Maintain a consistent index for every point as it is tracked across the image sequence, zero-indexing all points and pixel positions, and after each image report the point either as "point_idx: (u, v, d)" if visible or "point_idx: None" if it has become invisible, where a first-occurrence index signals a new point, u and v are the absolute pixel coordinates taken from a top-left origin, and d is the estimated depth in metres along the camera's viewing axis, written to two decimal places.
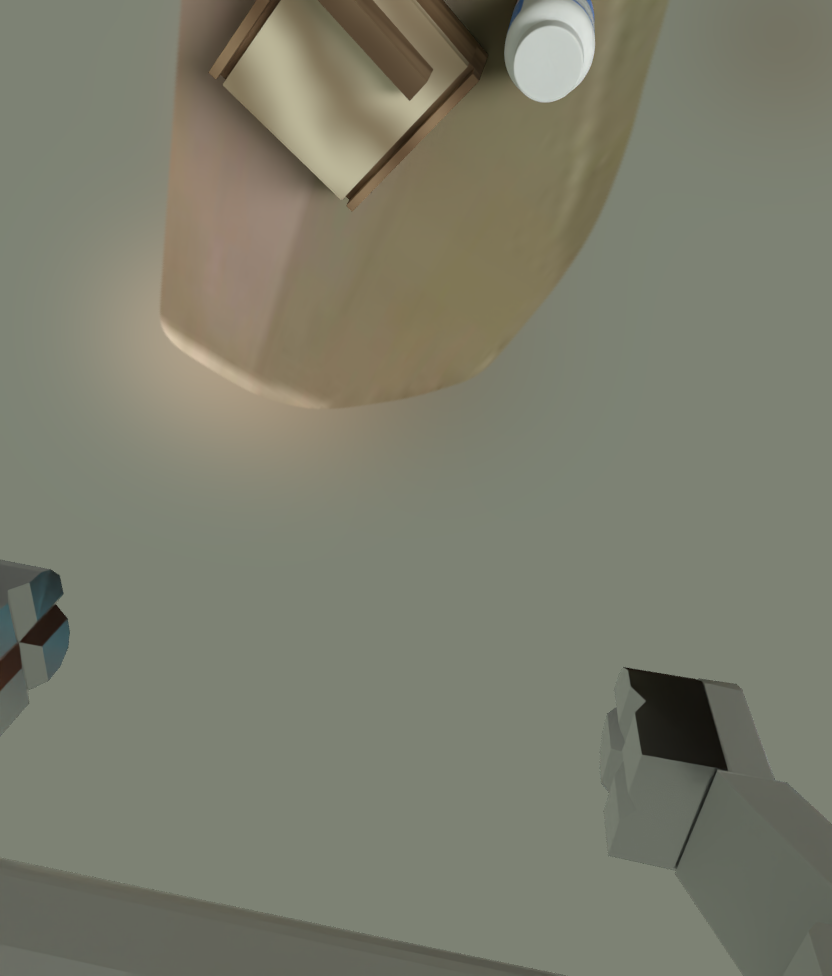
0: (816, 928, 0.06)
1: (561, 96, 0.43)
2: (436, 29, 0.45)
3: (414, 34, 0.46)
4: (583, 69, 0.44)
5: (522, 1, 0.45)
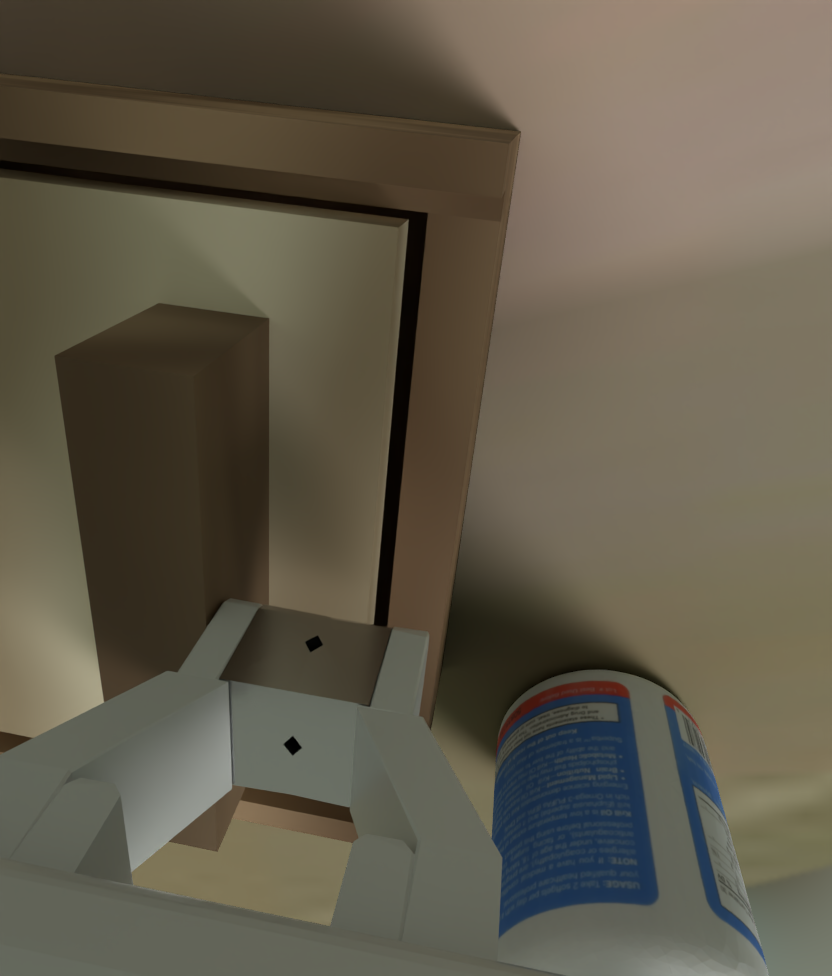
0: (361, 838, 0.07)
1: None
2: None
3: None
4: None
5: (636, 784, 0.15)
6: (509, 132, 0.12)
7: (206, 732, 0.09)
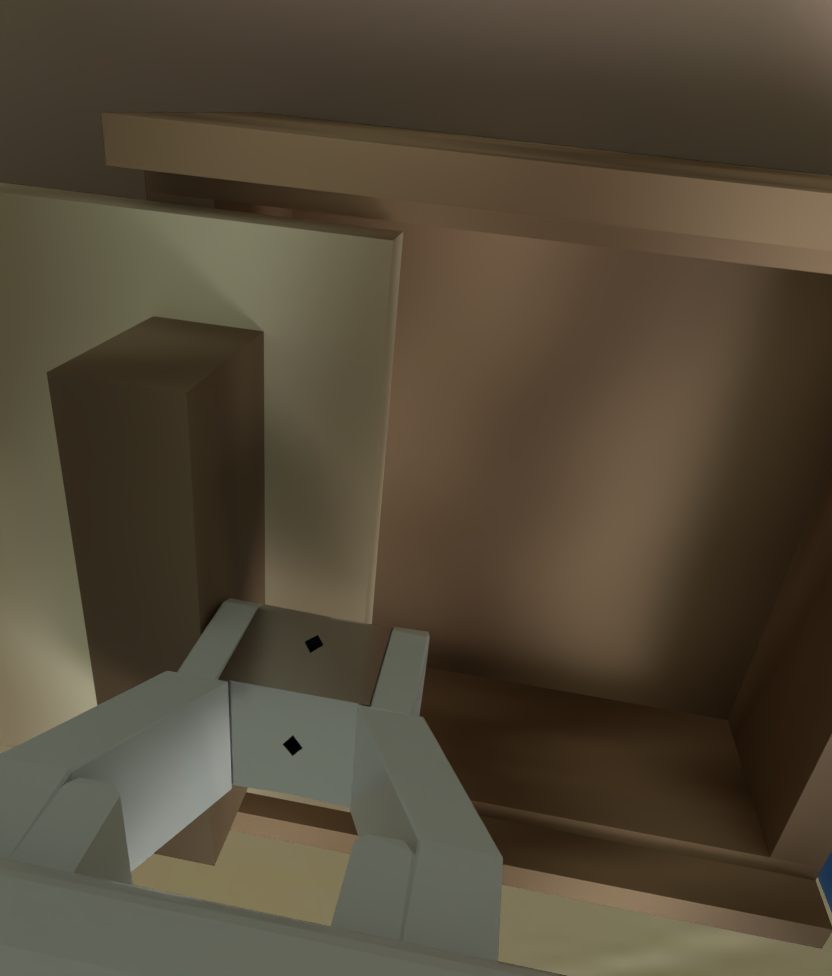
0: (361, 839, 0.07)
1: None
2: None
3: None
4: None
5: None
6: None
7: (206, 732, 0.09)
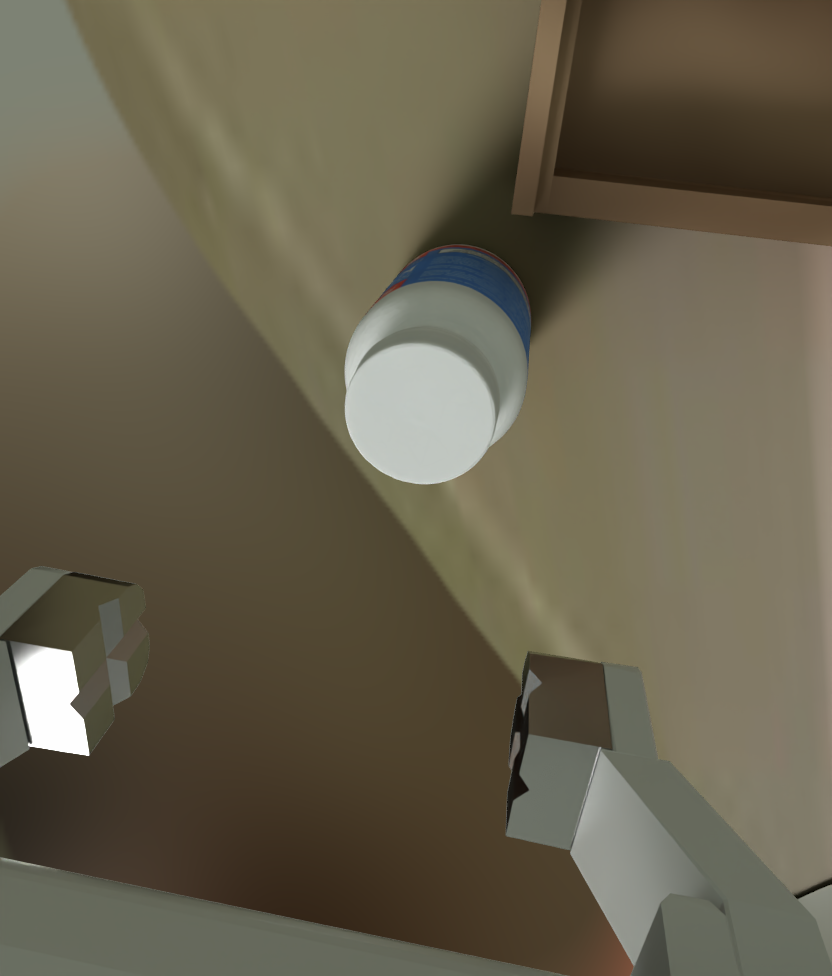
0: (668, 899, 0.06)
1: (350, 391, 0.19)
2: None
3: None
4: None
5: None
6: None
7: None
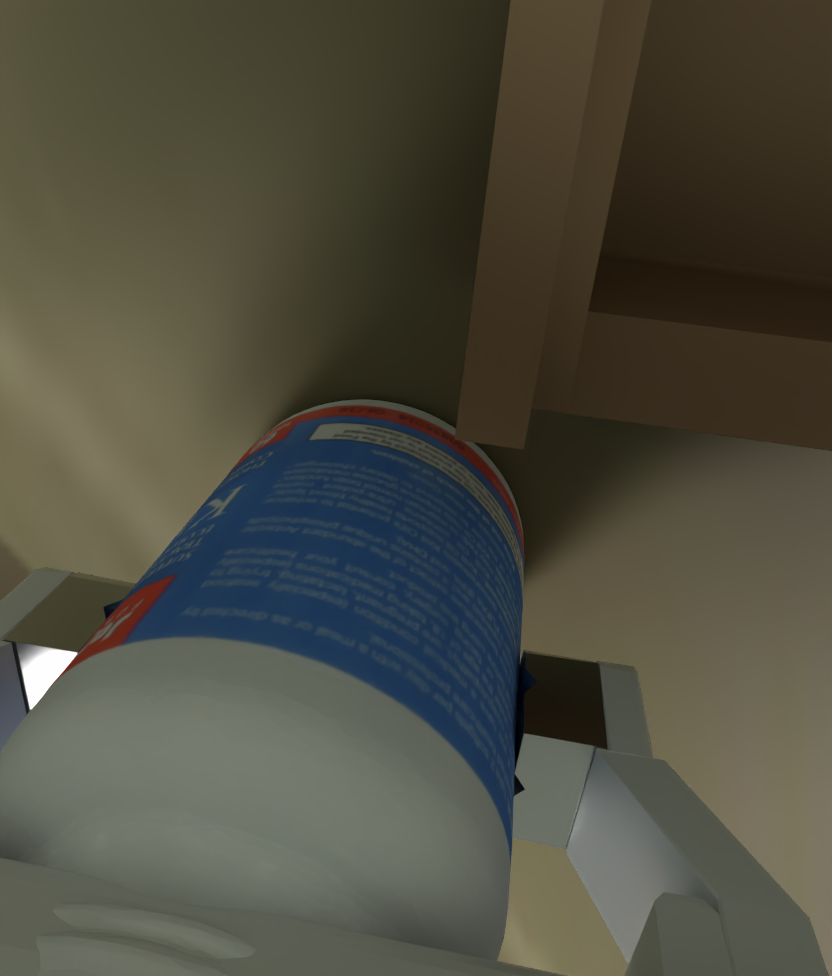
0: (662, 898, 0.06)
1: None
2: None
3: None
4: None
5: None
6: None
7: None
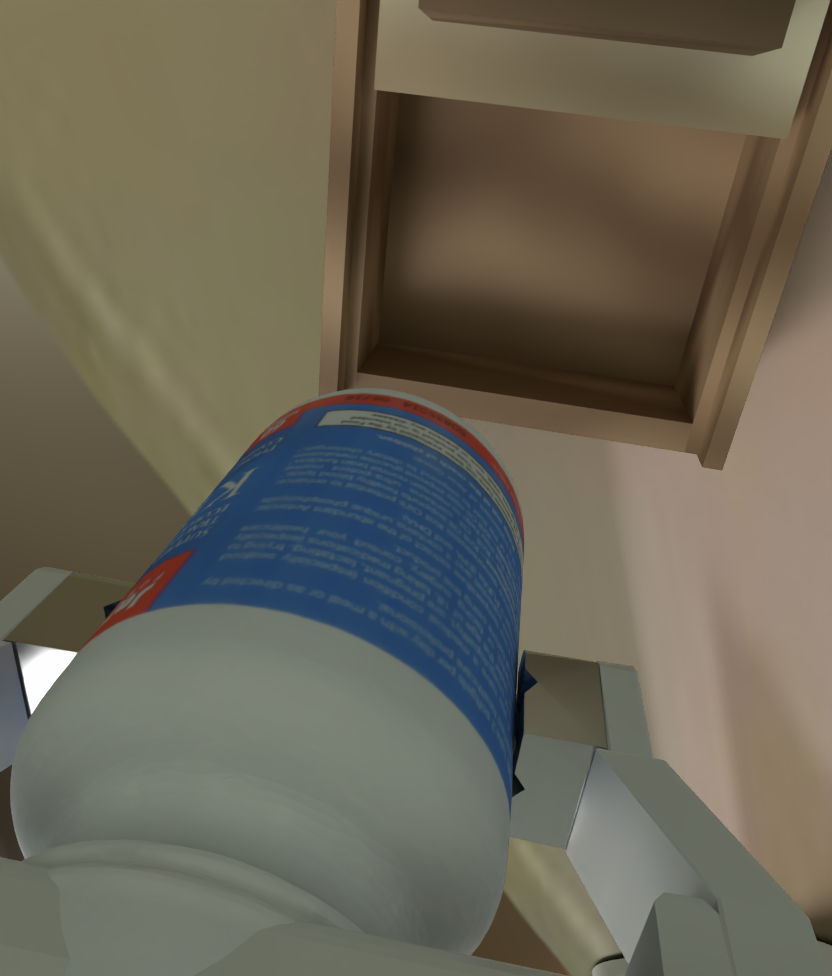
0: (662, 898, 0.06)
1: None
2: None
3: (515, 54, 0.19)
4: None
5: None
6: None
7: None
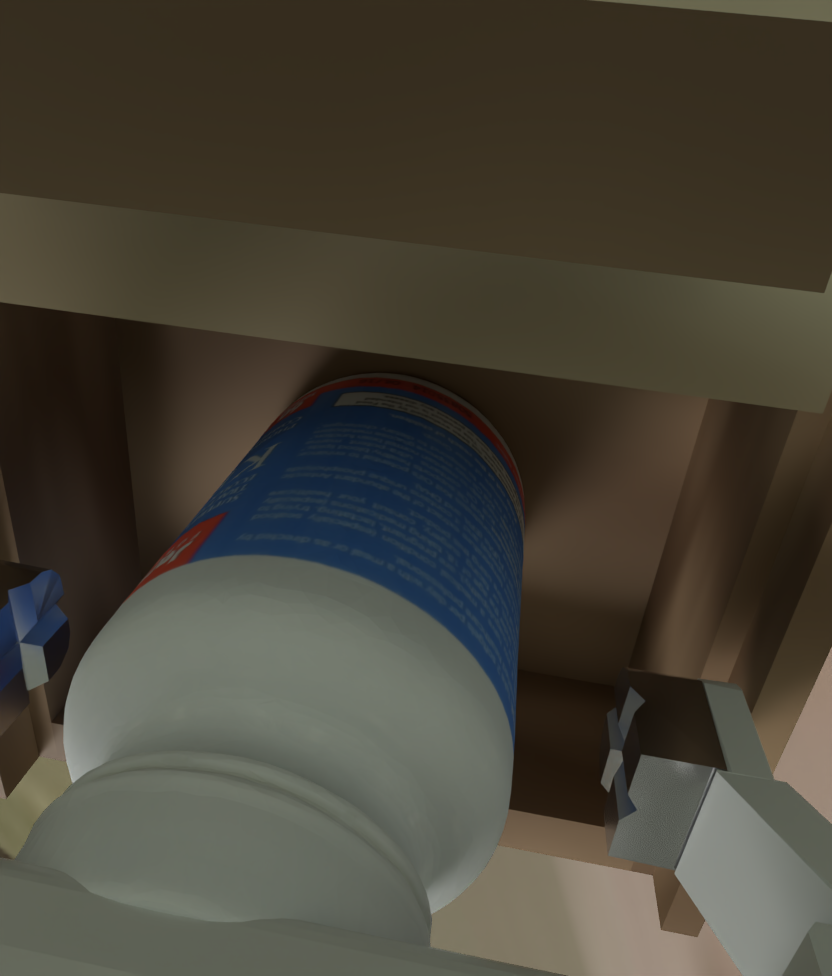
0: (816, 928, 0.06)
1: None
2: (143, 318, 0.09)
3: (195, 226, 0.08)
4: None
5: None
6: None
7: None
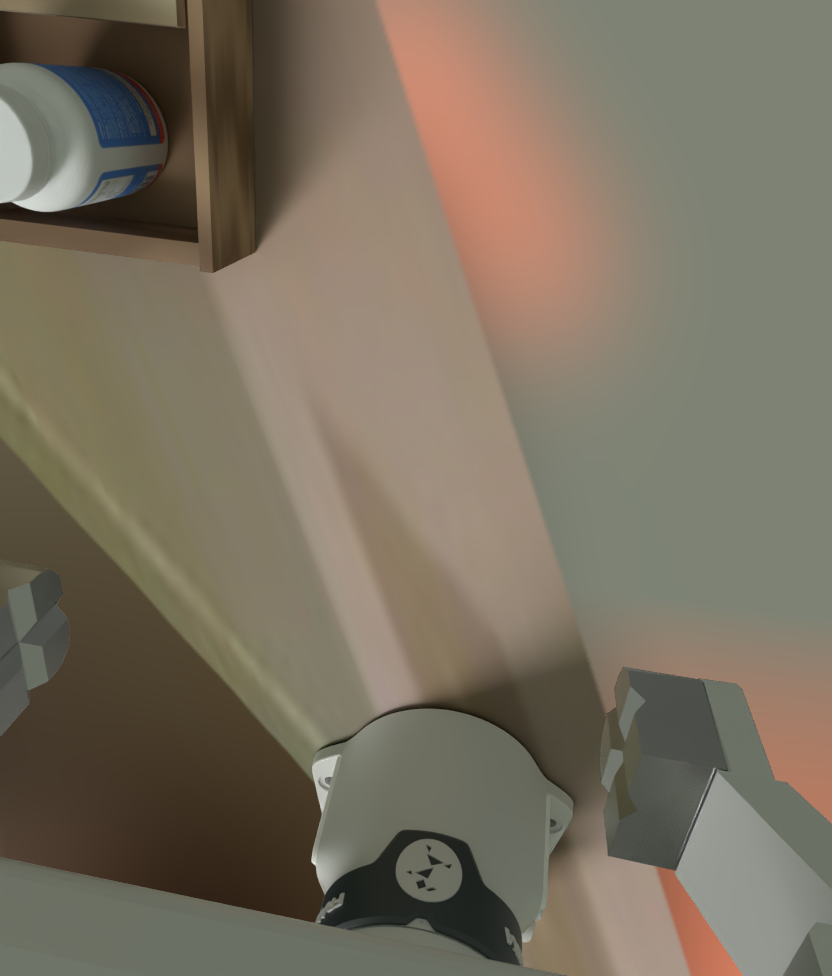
0: (817, 928, 0.06)
1: None
2: None
3: None
4: None
5: (132, 142, 0.31)
6: (246, 252, 0.36)
7: None
